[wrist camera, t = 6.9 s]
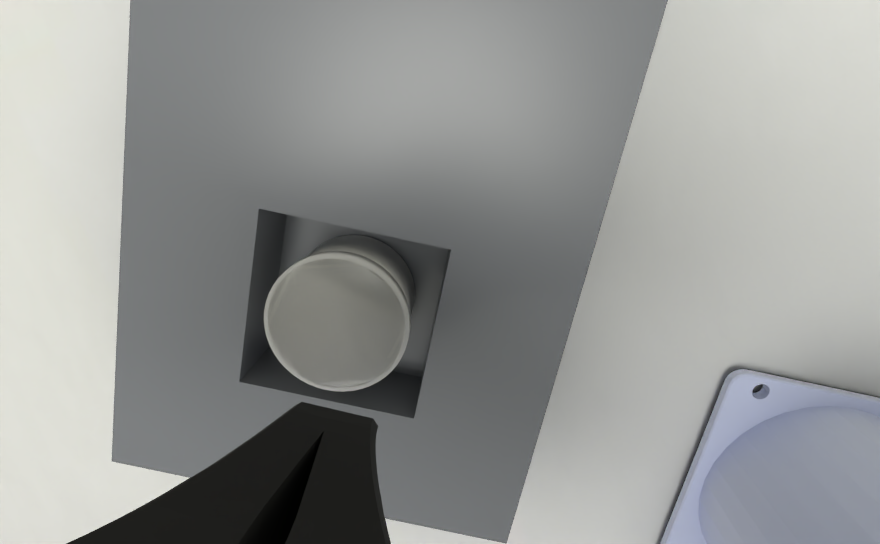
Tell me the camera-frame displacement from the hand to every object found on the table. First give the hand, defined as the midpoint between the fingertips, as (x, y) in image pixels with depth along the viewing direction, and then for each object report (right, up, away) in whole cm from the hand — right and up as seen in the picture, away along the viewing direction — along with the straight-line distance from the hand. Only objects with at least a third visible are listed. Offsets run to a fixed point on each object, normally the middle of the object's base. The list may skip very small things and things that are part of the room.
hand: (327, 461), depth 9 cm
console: (+1, +8, +7) cm, 11 cm away
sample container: (-1, +3, +8) cm, 8 cm away
